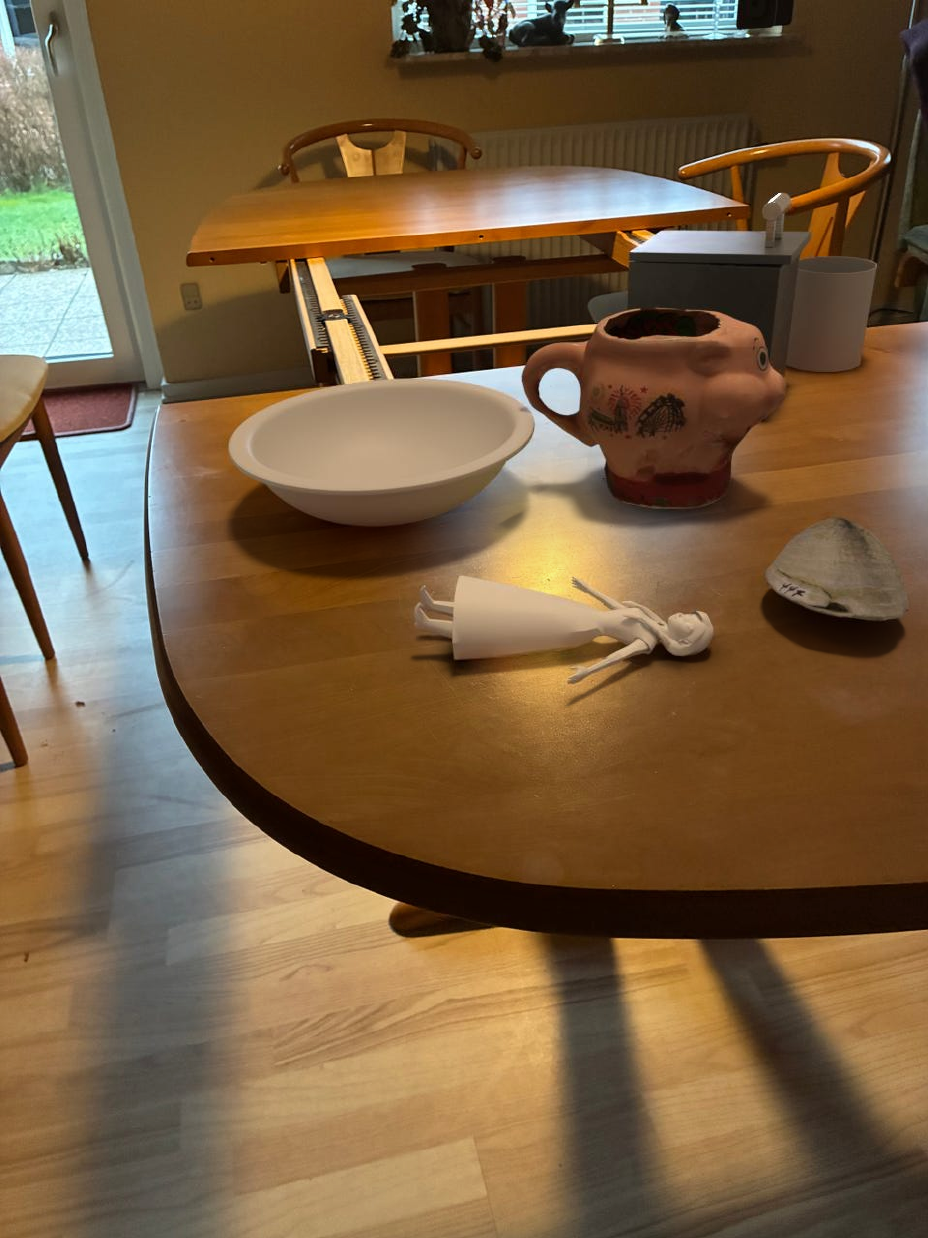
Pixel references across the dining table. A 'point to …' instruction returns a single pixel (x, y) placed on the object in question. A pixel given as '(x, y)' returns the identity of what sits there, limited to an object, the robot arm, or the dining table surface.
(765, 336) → the bin
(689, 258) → the bin lid
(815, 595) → the seashell
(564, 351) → the decorative planter
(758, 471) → the dining table surface
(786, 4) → the robot arm
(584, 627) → the woman figurine
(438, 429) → the soup bowl
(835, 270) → the cup
